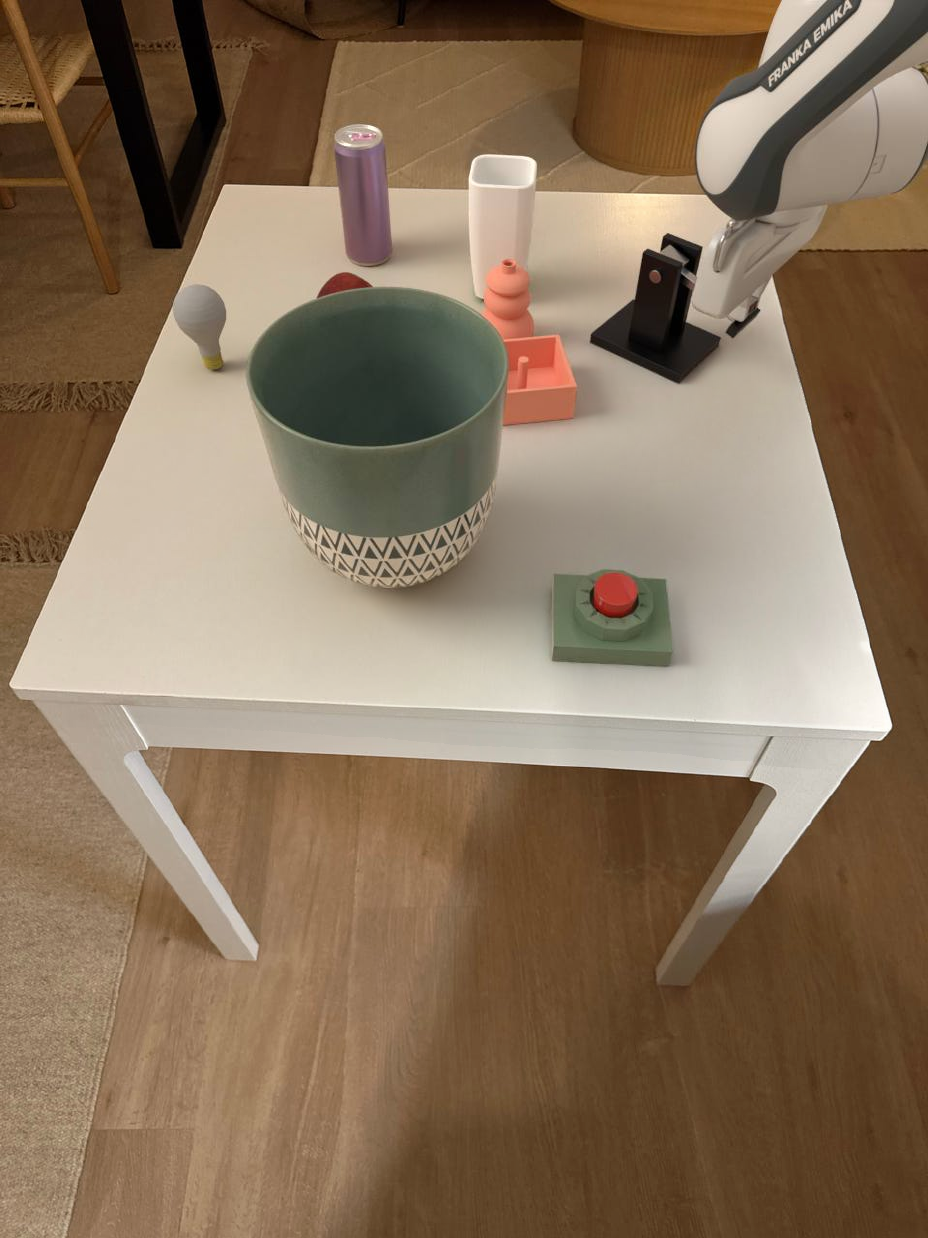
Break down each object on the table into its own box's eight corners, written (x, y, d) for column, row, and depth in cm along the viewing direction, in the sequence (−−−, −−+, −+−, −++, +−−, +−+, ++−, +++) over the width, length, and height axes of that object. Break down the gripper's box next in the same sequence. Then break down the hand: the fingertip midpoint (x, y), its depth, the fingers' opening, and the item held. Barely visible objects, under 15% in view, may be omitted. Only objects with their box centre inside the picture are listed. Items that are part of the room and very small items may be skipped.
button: (633, 586, 77) (636, 572, 76) (635, 618, 75) (639, 606, 74) (591, 583, 78) (594, 570, 76) (592, 616, 75) (595, 603, 74)
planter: (279, 635, 79) (228, 451, 62) (300, 478, 91) (262, 287, 74) (505, 631, 79) (516, 446, 62) (495, 475, 91) (502, 284, 74)
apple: (394, 347, 104) (389, 285, 97) (331, 365, 102) (322, 303, 95) (370, 313, 108) (364, 251, 102) (309, 330, 106) (299, 268, 100)
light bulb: (186, 359, 102) (163, 279, 95) (233, 348, 104) (214, 269, 96) (195, 387, 99) (171, 308, 91) (243, 376, 101) (224, 297, 93)
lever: (753, 321, 97) (764, 305, 95) (729, 343, 95) (741, 326, 92) (667, 256, 99) (676, 238, 97) (642, 275, 96) (651, 258, 94)
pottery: (573, 418, 96) (582, 339, 88) (486, 426, 95) (488, 348, 88) (540, 320, 107) (546, 242, 99) (462, 327, 106) (461, 249, 98)
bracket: (719, 345, 104) (744, 250, 95) (678, 383, 100) (700, 288, 90) (631, 307, 109) (647, 213, 99) (589, 342, 104) (601, 247, 95)
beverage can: (390, 268, 114) (382, 147, 102) (344, 267, 114) (330, 146, 102) (394, 243, 117) (386, 123, 106) (348, 242, 118) (335, 122, 106)
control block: (661, 594, 81) (669, 565, 78) (668, 666, 77) (677, 639, 73) (551, 589, 82) (555, 560, 79) (551, 661, 77) (555, 633, 74)
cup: (530, 276, 113) (537, 155, 101) (526, 309, 108) (534, 188, 97) (472, 272, 113) (473, 152, 101) (466, 306, 109) (467, 184, 97)
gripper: (756, 240, 77) (719, 373, 88) (857, 153, 87) (813, 282, 98) (692, 216, 79) (664, 348, 90) (798, 133, 89) (761, 262, 100)
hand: (742, 313), depth 94 cm, fingers closed, pressing on lever
